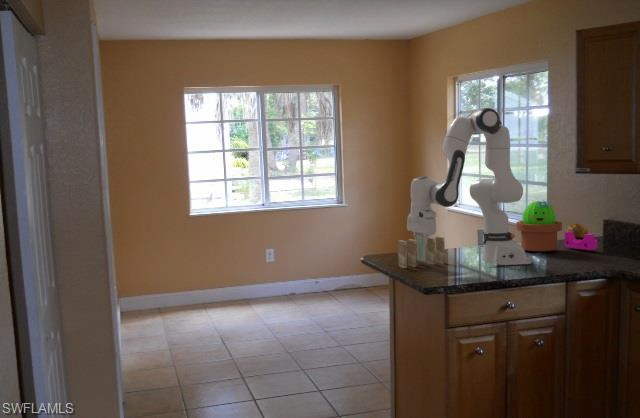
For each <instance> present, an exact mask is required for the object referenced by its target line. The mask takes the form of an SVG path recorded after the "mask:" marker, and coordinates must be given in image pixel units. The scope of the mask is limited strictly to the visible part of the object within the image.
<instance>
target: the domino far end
mask: <svg viewBox="0 0 640 418" xmlns="http://www.w3.org/2000/svg"><path fill="white" fill-rule="evenodd" d="M397 251H398V252H397V254H398V255H397V256H398V258H397V261H398V267H399V268H402V269H406V268H408V240H402V239H399V240H397Z"/></svg>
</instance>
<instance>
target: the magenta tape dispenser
mask: <svg viewBox="0 0 640 418" xmlns="http://www.w3.org/2000/svg"><path fill="white" fill-rule="evenodd" d="M582 238H583V239H577V237H574V234H573V232H571V231H569V232H567V231H564V247H566V248H572V249H579V250H584V251H585V250H586V251H590V250H591V251H592V250H597V249H598V239H595V234H594V233H588V234H585V235H584V237H582Z"/></svg>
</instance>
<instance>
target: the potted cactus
mask: <svg viewBox="0 0 640 418" xmlns="http://www.w3.org/2000/svg"><path fill="white" fill-rule="evenodd" d="M522 213H523V214H522V220H519V221H516V230H517V231H519V232H520V233H521V235H520V237H521V238H520V239H521V241H520V242H521V243H520V246H521V247H523V248H524V250H525V251H530V252H553V251H555V250H557V249H558V232H561V231H563V221H559V220H557V218H556V217H557V216H556V212H555V209H554V208H553V207H552V205H549V202H547V201H545V200H542V201H540V200H537V201H532V202H531V203H529V204H527V206H526V208H524V212H522Z"/></svg>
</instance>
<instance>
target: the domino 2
mask: <svg viewBox="0 0 640 418" xmlns="http://www.w3.org/2000/svg"><path fill="white" fill-rule="evenodd" d="M436 263H437V262H436V237H435V238H434V237H430V236H429V237H428V239H427V243H426V264H430V265H436Z"/></svg>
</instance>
